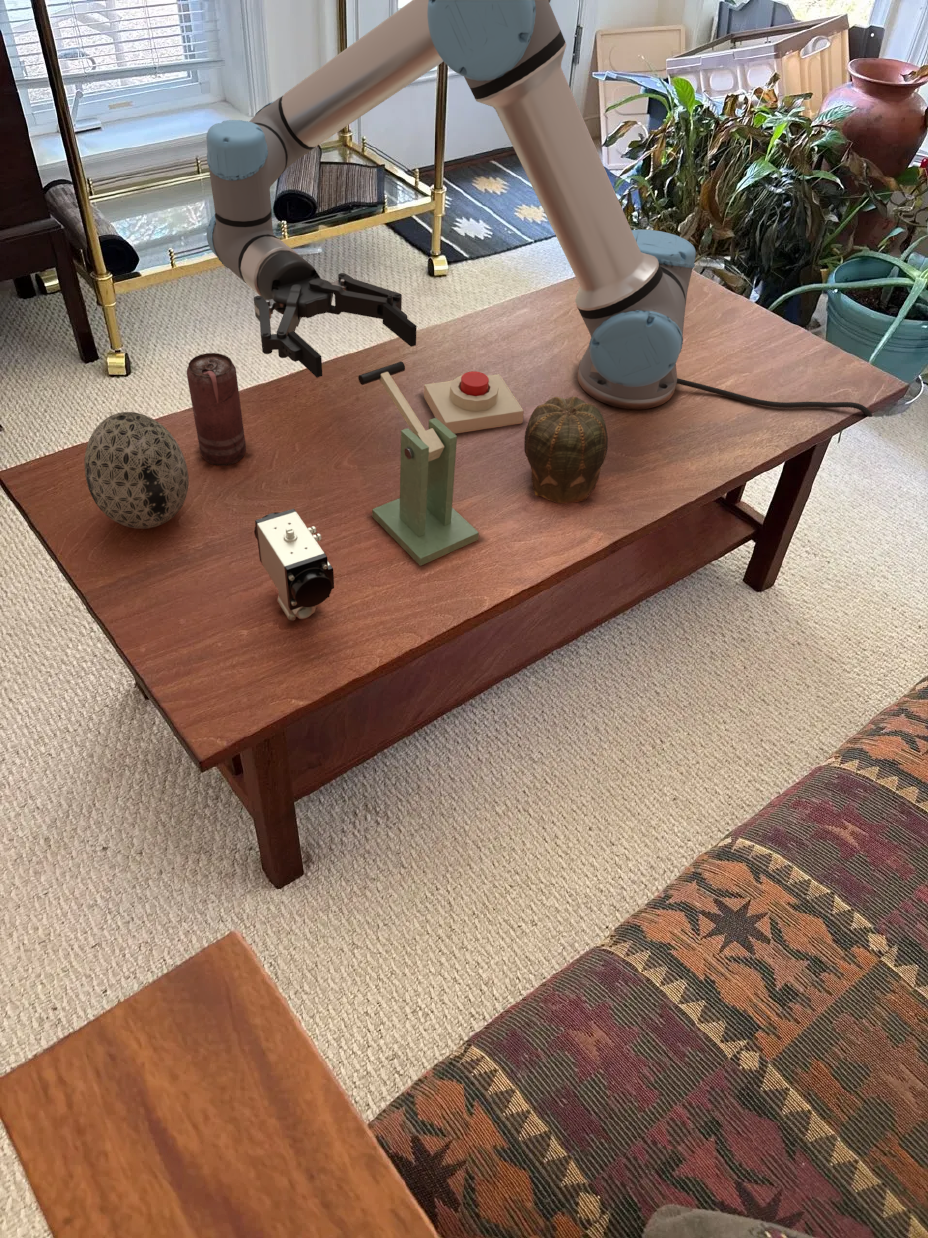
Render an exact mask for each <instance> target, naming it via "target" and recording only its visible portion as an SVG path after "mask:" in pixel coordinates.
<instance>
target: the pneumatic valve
mask: <svg viewBox="0 0 928 1238" xmlns="http://www.w3.org/2000/svg"><path fill="white" fill-rule="evenodd" d="M254 525H255V526H254V529H253V530H254V531H253V534H254V537H255V539H256V540H257V549H258V557H259V562H260V563H261V565H262V566H263V569H264V570H265V572H266V573H267V575H268V577H269V578H270V579H271V581H272V583H273V584H274V586H275V587H276V590H277V595H278V597H277V603H278V605H279V606H280V607H281V610H282V611H283V612H284V614H285V616H286V618H287V619H288V621H295V620H296V618H298V619H299V620H305V619H308V618H309V617H310V616H312V615H313V614H314V613H316V610H317V606H319V605H320V604H322V603H323V602H325V601H326V600H327V599H328V598H330V595H331V594H332V591H333V590H334V589H335V577H334V575H335V574H334V567H333V566H332V565H331V563H330V562H329V559H328V555H327V554H326V553H325V551H324V550H323V548H322V547H321V546H320V544H319V543H318V542H322V539H323V538H322V535H321V533H317V531H318V530H317V528H316V526H314V525H313V526H311V527H307V525H306V524H305V522H304V521H303V519H302V518H301V516H300V515H299V513H298V512H297V511H296V508H291V509H288V510H284V511H282V512H278V511H277V512H270V513H267V514H265V515H264V516H263V517H261V518H258V519H255V520H254Z"/></svg>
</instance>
